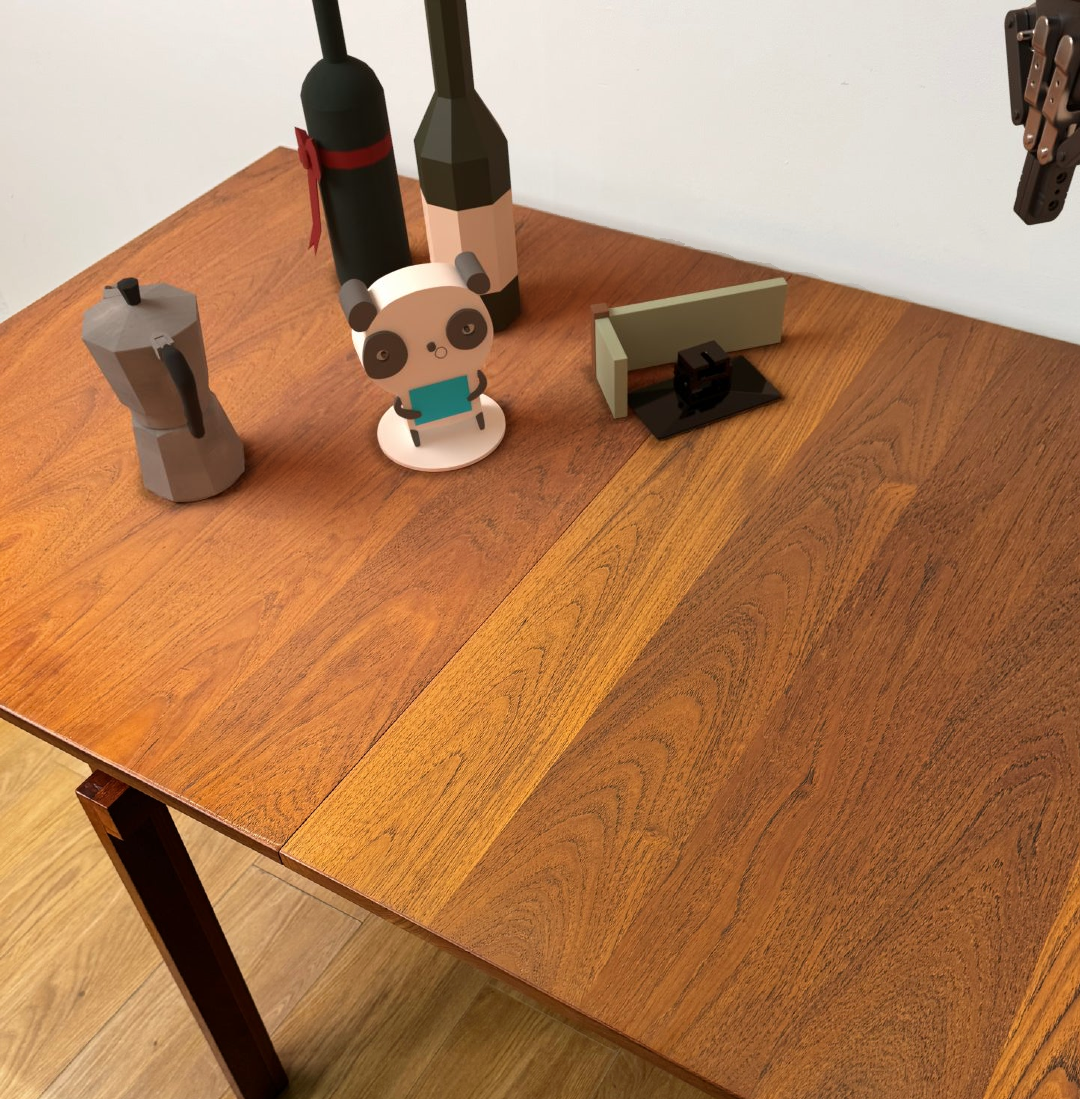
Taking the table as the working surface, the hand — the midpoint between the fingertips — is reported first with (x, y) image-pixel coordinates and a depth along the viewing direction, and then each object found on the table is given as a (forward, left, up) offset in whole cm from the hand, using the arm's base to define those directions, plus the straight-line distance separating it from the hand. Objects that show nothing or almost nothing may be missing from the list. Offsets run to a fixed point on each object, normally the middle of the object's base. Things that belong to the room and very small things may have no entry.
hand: (1034, 216), depth 69 cm
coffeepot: (+56, -26, -27) cm, 67 cm away
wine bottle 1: (+38, -53, -27) cm, 71 cm away
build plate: (+12, -24, -27) cm, 38 cm away
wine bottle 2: (+28, -43, -27) cm, 58 cm away
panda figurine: (+35, -26, -27) cm, 51 cm away
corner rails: (+11, -26, -27) cm, 39 cm away
